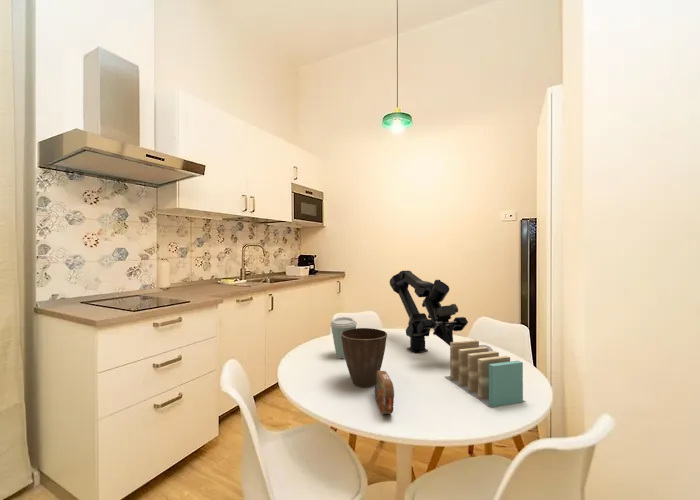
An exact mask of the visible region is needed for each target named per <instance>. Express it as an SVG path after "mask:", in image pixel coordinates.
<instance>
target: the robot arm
mask: <svg viewBox="0 0 700 500" xmlns="http://www.w3.org/2000/svg"><path fill="white" fill-rule="evenodd" d="M389 286H390V287H391V289H392V291H393V292H394V293H396V294H398V296H399V299H400V300H401V302H402V305H403V307H404V309H405V311H406V314H407V317H408V318H409V319H408V323H407V325H408V326H407V327H406V329H405V335H406V336H407V337H409V343H410V344H409V345H410V346H408V347H407V348H406V349H407V350H409V351H411V352H413V353H415V354H419V353H425V352H429V349H427V348H426V337H429V336H430V332H431V330H432V329H433V332H432V335H433V336H436V337H438V338H439V339H441V340H442V341H443V342H445V344H447V346H449V347H450V342H454V333H453V332H461V331H463V330H464V329H465V327H466V326H468V323H469V321H468V319H467V318H466V317H464V316H456V317H455V318H454V319H453V320H452V321H451V319H452V316H455V315H456V313H459V307H458V305H457V304H456V303H452V304H448V305H442V304H441V303H442V302H443V301H444V300H445V298H446V296H447V295H448V293H449V292H450V287H449V285H447V283H445V282H443V281H441V279H435V280H434V281H433V283H432V282H430V281H426V280H422V279H421V278H419V277H418V276H417V275H415V274H414V273H413V272H412V271H411V270H401V271H399V272H398V273H397V274H394V275H393V276H392V277H391V278H390V279H389ZM409 286H410V287H412V288H413V289H414V293H415V294H416V296H417V297H418V298H424V299H423V300H422V303H421V306H422V308H425V310H427V313H428V316H427V314H426V313H425V312H424V313H423V312H422V313H421V312H419V309H418V307H417V305H416V302H415V301H414V299H413V297H412V295H411V293H410V291H409Z"/></svg>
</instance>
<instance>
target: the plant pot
mask: <svg viewBox="0 0 700 500" xmlns="http://www.w3.org/2000/svg"><path fill="white" fill-rule="evenodd" d="M387 337H388V334H387V332H386V331H385V330H383V329H378V328H371V327H370V328H369V327H358V328H357V327H356V328H355V329H348V330H345V331H343V332H341V339H342V346H343V351H344V356H345V359H344V360H345V363H346V366H347V370H348V373H349V376H350V378H351V381H352V384H353V385H354V386H356V387H359V388H370V387H373V386H375V374H376V371H377V370H378V371H381V368H382V365H383V360H384V357H385V352H386V346H387V345H386V344H387Z"/></svg>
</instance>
